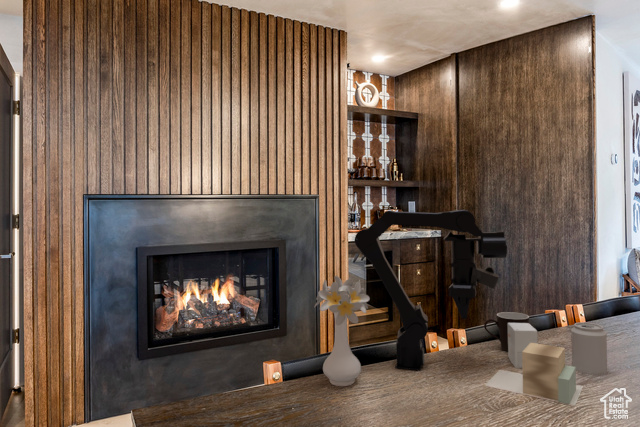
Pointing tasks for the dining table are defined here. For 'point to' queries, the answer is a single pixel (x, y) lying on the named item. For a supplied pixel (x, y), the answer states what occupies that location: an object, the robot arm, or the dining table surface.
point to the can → (589, 348)
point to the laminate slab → (520, 384)
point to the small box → (519, 341)
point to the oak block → (542, 369)
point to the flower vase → (342, 328)
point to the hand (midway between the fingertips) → (464, 318)
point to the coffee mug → (506, 325)
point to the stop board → (567, 384)
